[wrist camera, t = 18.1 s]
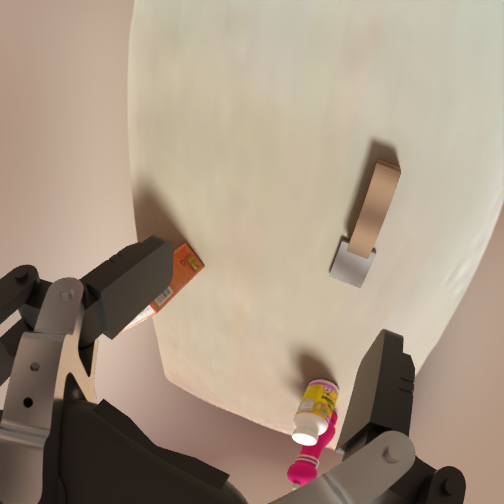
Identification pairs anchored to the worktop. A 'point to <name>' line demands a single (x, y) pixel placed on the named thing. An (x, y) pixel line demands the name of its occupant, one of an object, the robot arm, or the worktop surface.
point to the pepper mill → (310, 458)
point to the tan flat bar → (366, 227)
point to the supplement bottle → (314, 411)
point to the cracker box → (173, 281)
